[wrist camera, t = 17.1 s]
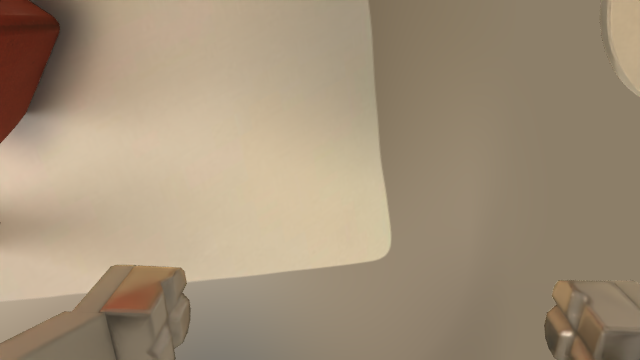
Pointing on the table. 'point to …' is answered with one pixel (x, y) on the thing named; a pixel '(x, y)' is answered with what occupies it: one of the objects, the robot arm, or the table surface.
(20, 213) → the table surface
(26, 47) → the flower pot
